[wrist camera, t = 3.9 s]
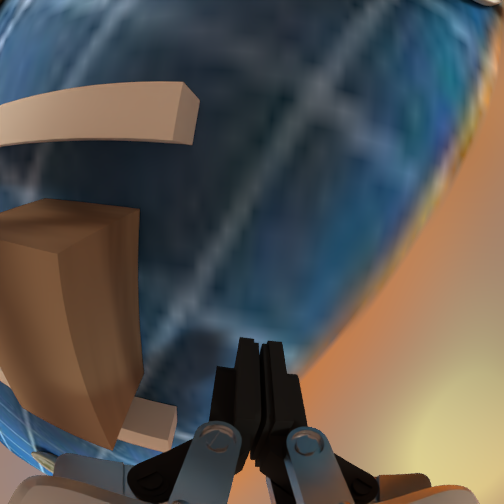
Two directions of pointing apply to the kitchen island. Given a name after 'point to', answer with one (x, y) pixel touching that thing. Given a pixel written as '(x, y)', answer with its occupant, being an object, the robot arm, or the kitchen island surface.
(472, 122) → the kitchen island surface
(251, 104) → the kitchen island surface
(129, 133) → the guide channel
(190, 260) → the kitchen island surface
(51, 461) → the saucer
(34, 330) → the block
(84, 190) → the kitchen island surface
